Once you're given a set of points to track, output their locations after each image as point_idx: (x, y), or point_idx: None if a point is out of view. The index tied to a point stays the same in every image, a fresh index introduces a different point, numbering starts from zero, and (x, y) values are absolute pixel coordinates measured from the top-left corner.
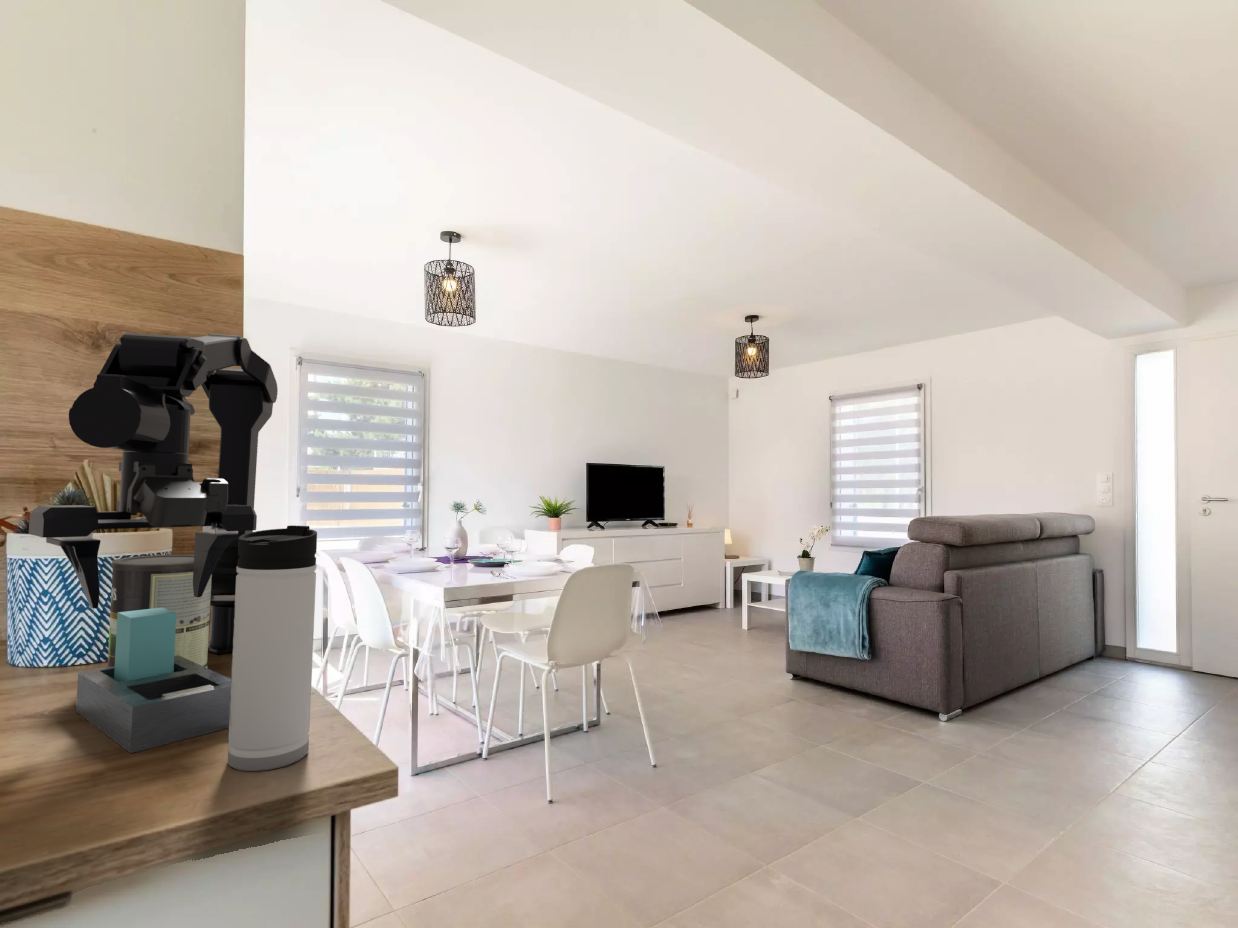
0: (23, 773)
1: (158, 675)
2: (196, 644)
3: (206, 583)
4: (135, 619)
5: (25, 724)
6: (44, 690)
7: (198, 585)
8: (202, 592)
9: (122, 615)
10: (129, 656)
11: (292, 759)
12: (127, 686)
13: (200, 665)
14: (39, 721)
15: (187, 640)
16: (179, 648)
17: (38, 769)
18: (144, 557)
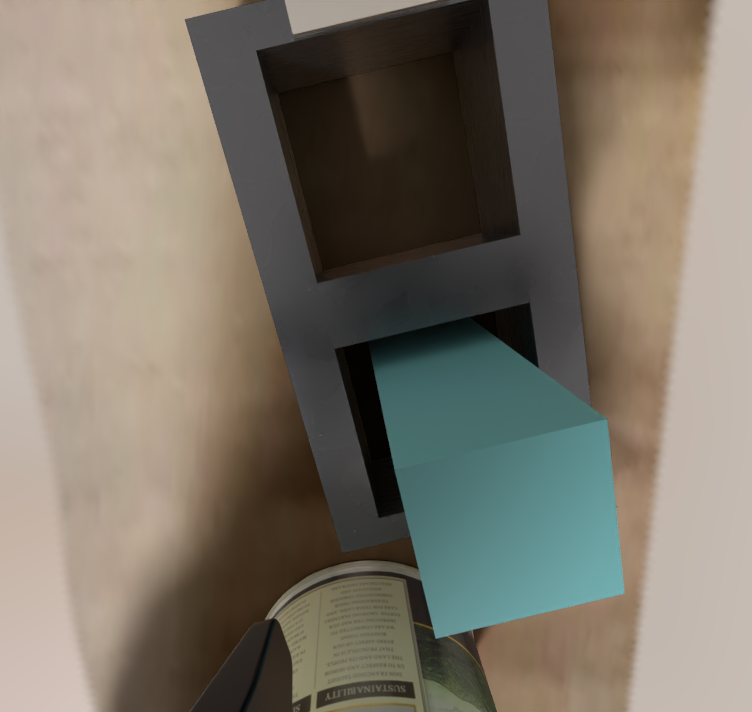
0: (691, 21)
1: (421, 325)
2: None
3: (206, 695)
4: (581, 417)
5: (642, 399)
6: (582, 634)
7: (262, 679)
8: (244, 638)
9: (615, 528)
10: (526, 360)
11: None
12: (516, 235)
13: (294, 383)
14: (618, 406)
15: (306, 668)
16: (330, 640)
17: (664, 29)
18: None
